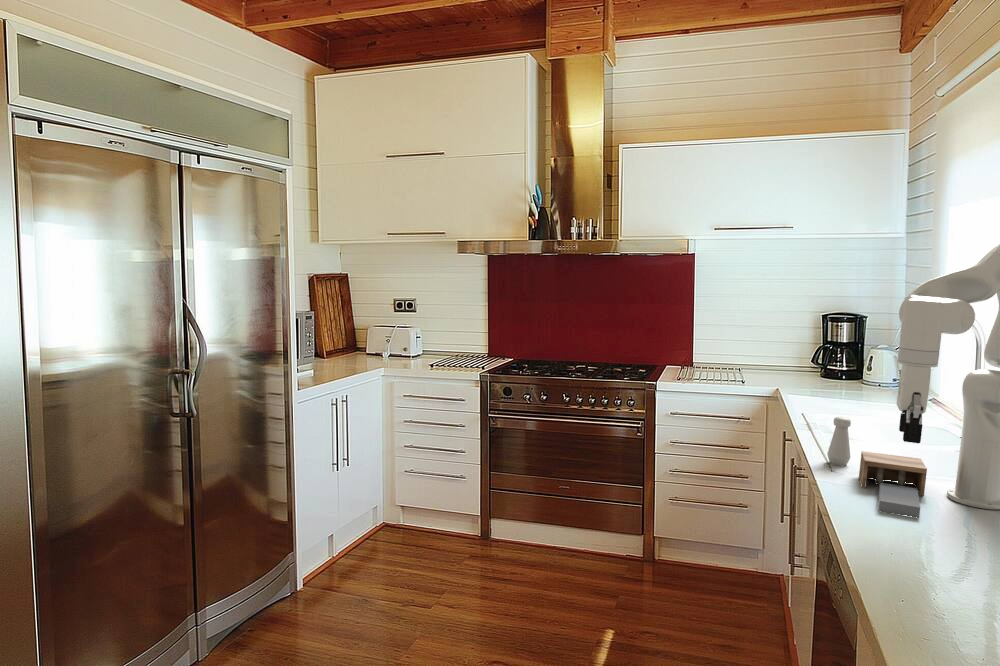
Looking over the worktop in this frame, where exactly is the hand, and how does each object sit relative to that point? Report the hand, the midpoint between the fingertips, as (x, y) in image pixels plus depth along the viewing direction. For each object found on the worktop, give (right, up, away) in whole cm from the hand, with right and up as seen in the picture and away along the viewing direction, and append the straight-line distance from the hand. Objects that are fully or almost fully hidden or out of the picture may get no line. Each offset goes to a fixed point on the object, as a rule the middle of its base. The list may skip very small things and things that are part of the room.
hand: (909, 437), depth 164 cm
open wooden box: (+11, -16, +29) cm, 35 cm away
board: (+5, -18, +14) cm, 24 cm away
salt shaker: (+6, -14, +47) cm, 50 cm away
